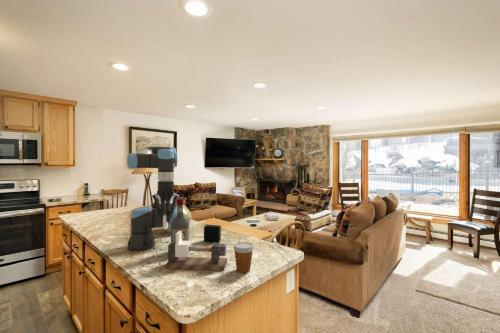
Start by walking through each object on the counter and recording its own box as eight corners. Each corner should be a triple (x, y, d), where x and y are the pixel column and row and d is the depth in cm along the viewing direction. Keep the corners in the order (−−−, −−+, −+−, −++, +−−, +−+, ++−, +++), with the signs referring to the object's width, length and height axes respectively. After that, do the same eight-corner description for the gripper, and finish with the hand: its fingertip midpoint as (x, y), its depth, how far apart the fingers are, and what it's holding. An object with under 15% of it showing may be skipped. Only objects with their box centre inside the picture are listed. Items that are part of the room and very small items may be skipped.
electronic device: (218, 243, 155) (218, 227, 155) (203, 241, 157) (203, 226, 157) (220, 240, 159) (220, 225, 159) (206, 239, 161) (206, 224, 161)
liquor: (170, 251, 140) (170, 198, 140) (186, 248, 144) (187, 197, 143) (172, 256, 132) (172, 200, 131) (189, 254, 136) (190, 199, 135)
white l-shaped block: (175, 256, 118) (175, 234, 118) (179, 252, 124) (179, 230, 124) (187, 257, 118) (187, 234, 118) (191, 252, 124) (191, 230, 124)
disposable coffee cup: (233, 266, 120) (233, 241, 120) (252, 265, 121) (252, 241, 121) (233, 275, 111) (233, 248, 111) (254, 274, 112) (254, 248, 111)
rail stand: (165, 268, 117) (165, 246, 117) (172, 260, 127) (173, 240, 127) (224, 270, 115) (224, 248, 115) (227, 262, 125) (227, 241, 125)
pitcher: (186, 235, 169) (186, 199, 169) (152, 235, 169) (152, 199, 169) (194, 227, 191) (194, 195, 191) (164, 227, 192) (164, 195, 192)
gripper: (149, 181, 118) (149, 230, 118) (176, 181, 117) (175, 230, 117) (156, 180, 125) (155, 226, 125) (181, 180, 125) (181, 226, 125)
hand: (165, 228), depth 121 cm, fingers closed
